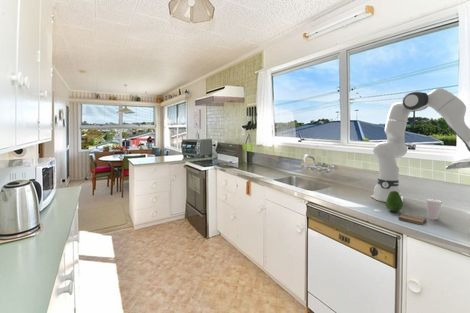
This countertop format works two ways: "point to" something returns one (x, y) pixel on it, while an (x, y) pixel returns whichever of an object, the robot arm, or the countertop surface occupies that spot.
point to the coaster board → (412, 218)
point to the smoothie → (433, 207)
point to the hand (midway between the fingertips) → (451, 167)
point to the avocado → (394, 201)
